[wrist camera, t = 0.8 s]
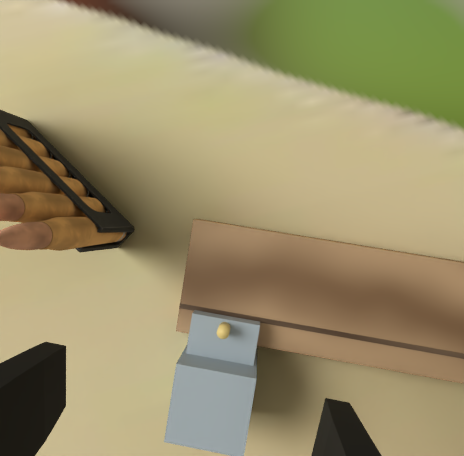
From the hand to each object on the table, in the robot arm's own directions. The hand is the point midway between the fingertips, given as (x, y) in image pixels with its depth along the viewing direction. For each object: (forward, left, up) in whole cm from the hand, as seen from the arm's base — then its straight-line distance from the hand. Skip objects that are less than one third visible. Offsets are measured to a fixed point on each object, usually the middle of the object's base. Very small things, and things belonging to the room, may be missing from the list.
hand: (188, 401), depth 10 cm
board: (+1, -7, -15) cm, 17 cm away
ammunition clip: (+5, +12, -15) cm, 20 cm away
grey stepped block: (-4, 0, -15) cm, 16 cm away
